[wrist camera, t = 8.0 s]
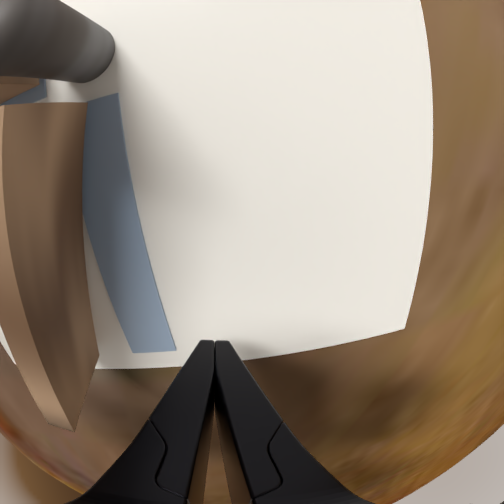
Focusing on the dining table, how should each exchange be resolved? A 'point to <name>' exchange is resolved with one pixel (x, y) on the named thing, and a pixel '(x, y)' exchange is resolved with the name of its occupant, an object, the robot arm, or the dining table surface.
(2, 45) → the fixed panel
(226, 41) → the card
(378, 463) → the dining table surface
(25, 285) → the fold panel
